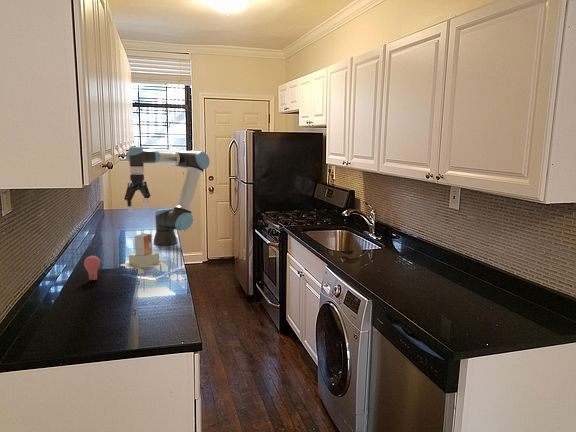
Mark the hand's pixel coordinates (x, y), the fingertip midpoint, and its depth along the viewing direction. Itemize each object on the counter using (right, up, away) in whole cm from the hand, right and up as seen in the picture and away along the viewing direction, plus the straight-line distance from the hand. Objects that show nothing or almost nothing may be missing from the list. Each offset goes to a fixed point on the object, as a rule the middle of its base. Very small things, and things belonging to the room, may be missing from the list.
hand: (138, 210), depth 254 cm
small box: (+9, -24, -18) cm, 31 cm away
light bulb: (-6, -34, -45) cm, 57 cm away
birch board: (+9, -30, -17) cm, 35 cm away
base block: (+9, -29, -17) cm, 35 cm away
